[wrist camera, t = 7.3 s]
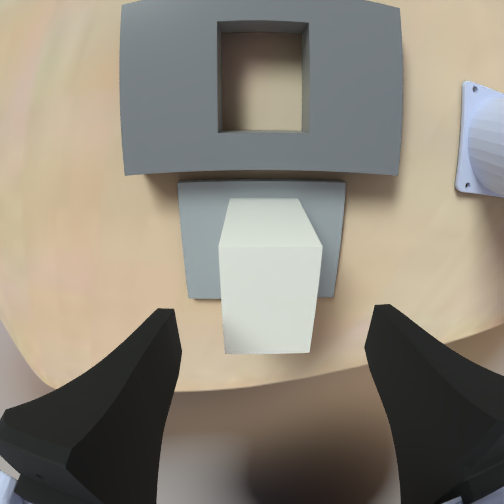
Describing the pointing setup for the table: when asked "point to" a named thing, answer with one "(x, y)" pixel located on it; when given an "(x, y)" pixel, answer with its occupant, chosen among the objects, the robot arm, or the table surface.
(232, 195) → the mat
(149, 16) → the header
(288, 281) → the plug
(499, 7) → the table surface
